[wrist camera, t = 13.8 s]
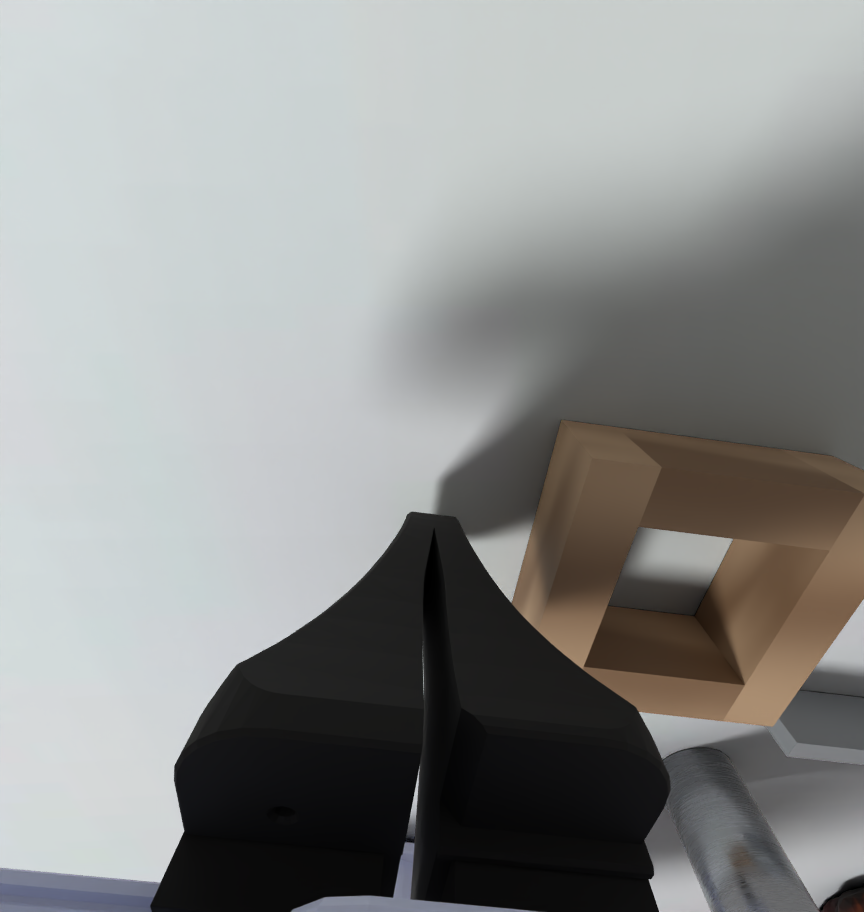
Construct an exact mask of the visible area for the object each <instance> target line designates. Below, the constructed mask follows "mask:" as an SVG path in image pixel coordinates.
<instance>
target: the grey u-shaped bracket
mask: <svg viewBox="0 0 864 912" xmlns="http://www.w3.org/2000/svg"><path fill="white" fill-rule="evenodd" d="M765 727H766V728H767V730H768V731H769V733H770V734H771V735H772V737H773V738H774V740H775V741H776V742H777V744H778V745H779V747H780V748H781V749H782V751H783V752H784V754H785V755H786V757H793V758H803V759H812V760H821V761H830V762H839V763H848V764H858V765H864V698H862V697H853V696H845V695H836V694H827V693H819V692H810V691H801V690H799V691H798V692H797V694H796V695H795V696H794V698H793V699H792V701H791V702H790V703H789V705H788V706H787V708H786V709H785V710H784V712H783V713H782V715H781V716H780V718H779V719H778V720H777V722H776V723H775V725H774V726H773V727H771V726H765Z"/></svg>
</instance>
